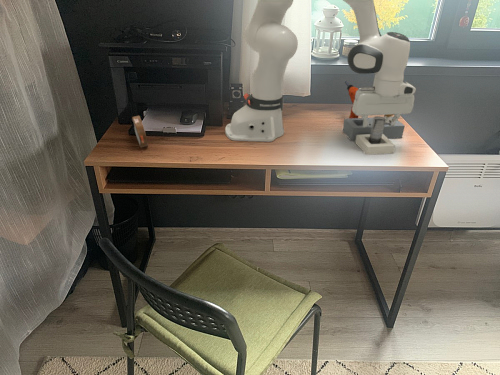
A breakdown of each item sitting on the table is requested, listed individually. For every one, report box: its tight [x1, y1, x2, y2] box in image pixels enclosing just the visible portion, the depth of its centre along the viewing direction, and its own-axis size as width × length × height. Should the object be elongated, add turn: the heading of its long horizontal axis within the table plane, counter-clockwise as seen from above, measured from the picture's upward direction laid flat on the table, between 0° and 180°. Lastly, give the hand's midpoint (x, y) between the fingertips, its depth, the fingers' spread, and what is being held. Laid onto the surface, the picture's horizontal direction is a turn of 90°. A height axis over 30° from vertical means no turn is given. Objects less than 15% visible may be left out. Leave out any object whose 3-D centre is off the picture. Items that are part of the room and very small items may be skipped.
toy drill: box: [344, 80, 359, 118], centre depth 152 cm, size 5×19×15 cm, turn 8°
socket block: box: [342, 116, 406, 142], centre depth 143 cm, size 20×9×5 cm, turn 99°
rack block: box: [354, 134, 396, 156], centre depth 134 cm, size 10×10×3 cm
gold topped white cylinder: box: [383, 114, 394, 125], centre depth 143 cm, size 4×4×9 cm
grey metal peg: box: [369, 115, 386, 144], centre depth 132 cm, size 4×4×11 cm
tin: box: [131, 115, 149, 148], centre depth 133 cm, size 15×3×8 cm, turn 22°
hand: (378, 126), depth 131 cm, fingers open, 8 cm apart
